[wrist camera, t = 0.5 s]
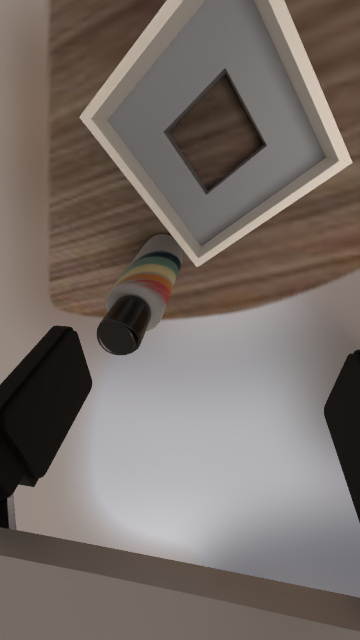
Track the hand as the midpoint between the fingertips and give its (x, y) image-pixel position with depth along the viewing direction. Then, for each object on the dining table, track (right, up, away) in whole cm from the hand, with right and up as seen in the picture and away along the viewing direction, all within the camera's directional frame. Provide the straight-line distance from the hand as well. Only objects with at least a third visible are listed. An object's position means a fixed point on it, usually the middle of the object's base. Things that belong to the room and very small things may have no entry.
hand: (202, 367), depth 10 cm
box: (+3, +22, +20) cm, 30 cm away
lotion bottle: (-3, +11, +29) cm, 31 cm away
